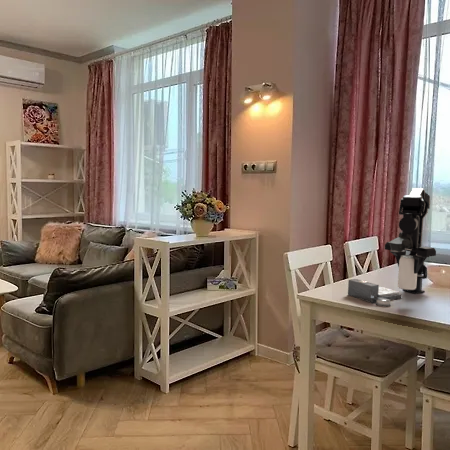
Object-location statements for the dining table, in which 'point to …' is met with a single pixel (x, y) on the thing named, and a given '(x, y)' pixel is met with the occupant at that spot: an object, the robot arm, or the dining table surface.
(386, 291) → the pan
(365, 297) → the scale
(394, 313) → the dining table surface
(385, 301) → the spacer
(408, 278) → the can
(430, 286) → the dining table surface
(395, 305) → the dining table surface
